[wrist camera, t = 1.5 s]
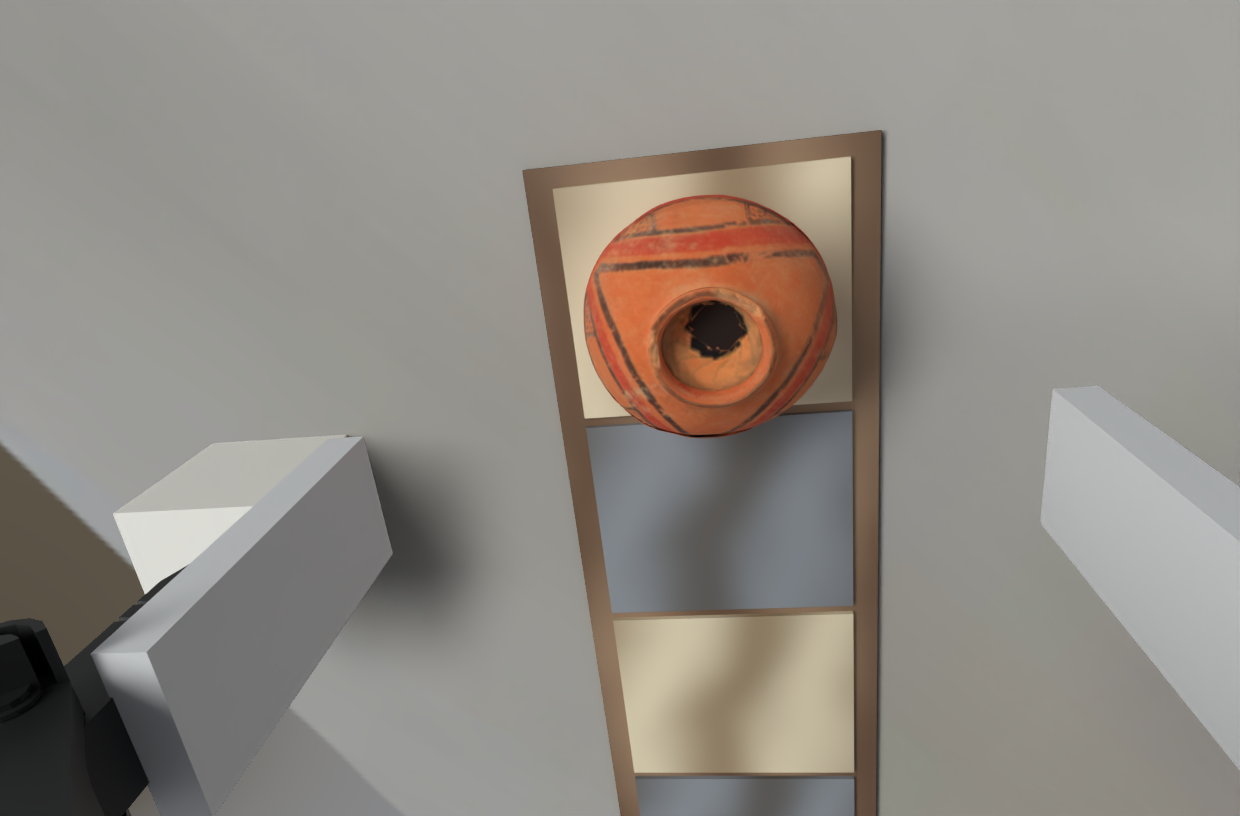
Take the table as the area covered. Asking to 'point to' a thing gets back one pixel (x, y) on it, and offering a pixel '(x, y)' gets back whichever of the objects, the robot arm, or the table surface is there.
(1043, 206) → the table surface
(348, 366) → the table surface
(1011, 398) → the table surface
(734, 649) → the board
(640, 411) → the pot
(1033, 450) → the table surface
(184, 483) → the die
